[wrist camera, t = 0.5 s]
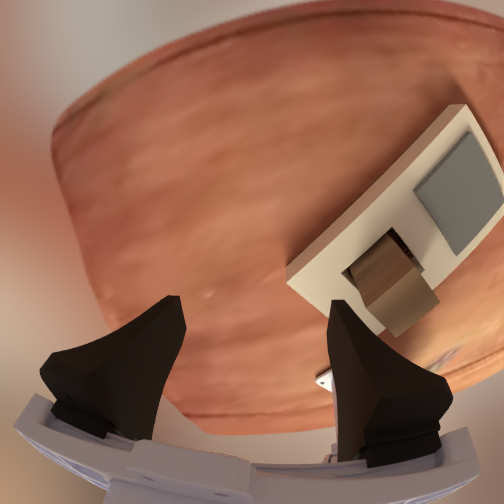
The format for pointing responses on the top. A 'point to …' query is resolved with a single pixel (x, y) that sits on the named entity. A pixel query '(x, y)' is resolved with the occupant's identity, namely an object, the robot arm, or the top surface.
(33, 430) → the robot arm
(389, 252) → the walnut block
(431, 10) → the top surface
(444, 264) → the pocket board
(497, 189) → the slate mat
